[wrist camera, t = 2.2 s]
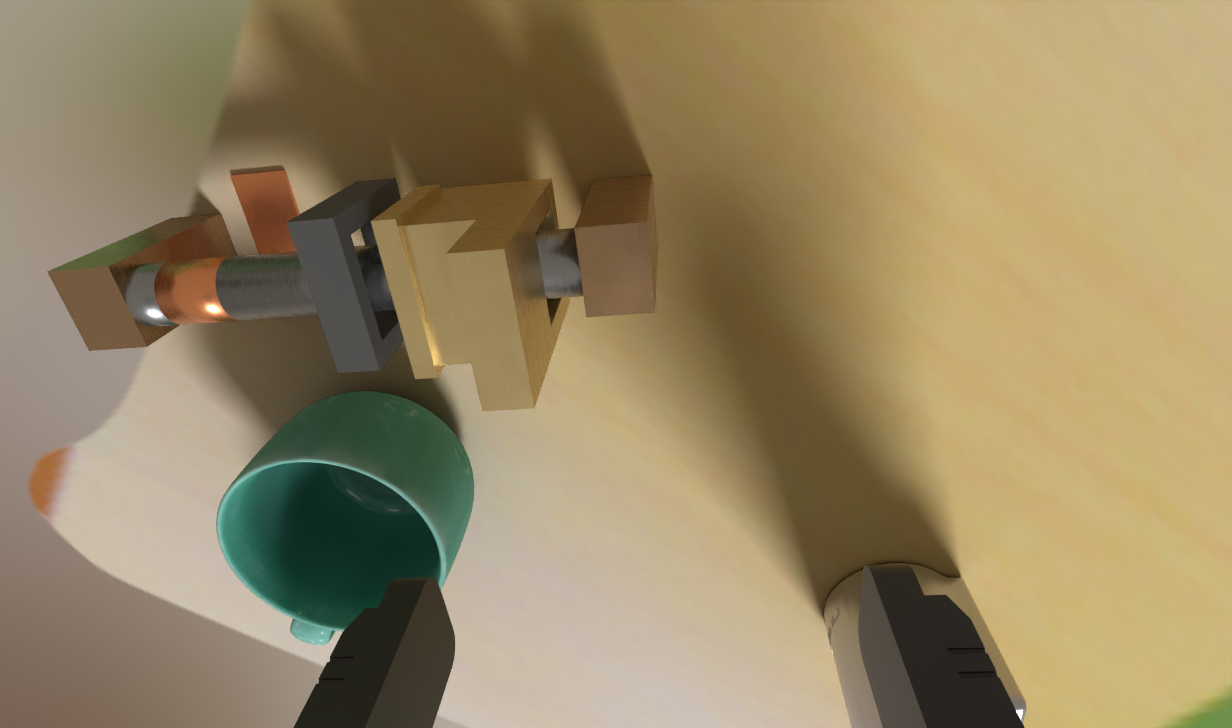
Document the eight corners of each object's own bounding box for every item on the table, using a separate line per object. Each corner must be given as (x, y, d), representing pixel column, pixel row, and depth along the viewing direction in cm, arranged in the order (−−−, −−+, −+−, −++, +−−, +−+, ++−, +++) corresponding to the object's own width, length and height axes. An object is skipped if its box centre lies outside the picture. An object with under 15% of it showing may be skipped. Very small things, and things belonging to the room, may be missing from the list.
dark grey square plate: (395, 178, 33) (332, 218, 27) (428, 308, 36) (379, 370, 30) (356, 181, 33) (285, 222, 27) (393, 310, 36) (337, 373, 30)
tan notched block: (550, 169, 31) (501, 237, 22) (570, 308, 34) (536, 417, 25) (425, 181, 31) (328, 251, 22) (457, 316, 35) (383, 425, 26)
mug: (334, 331, 40) (246, 417, 32) (520, 425, 42) (484, 527, 34) (263, 510, 48) (176, 618, 39) (424, 582, 50) (376, 698, 41)
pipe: (648, 134, 34) (643, 171, 26) (660, 283, 37) (658, 353, 30) (156, 182, 36) (24, 228, 29) (212, 315, 40) (108, 386, 33)
